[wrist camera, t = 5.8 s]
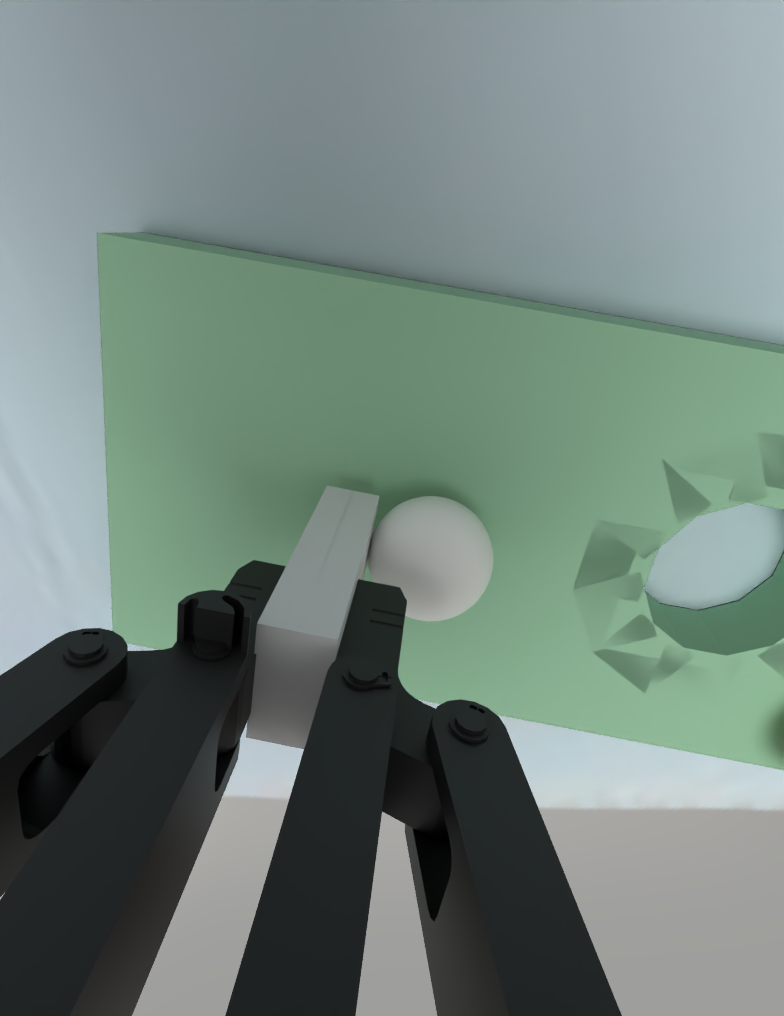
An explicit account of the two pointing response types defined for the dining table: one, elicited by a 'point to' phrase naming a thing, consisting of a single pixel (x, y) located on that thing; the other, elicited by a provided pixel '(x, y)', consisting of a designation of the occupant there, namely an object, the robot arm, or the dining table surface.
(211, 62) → the dining table surface
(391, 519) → the ball
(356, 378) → the green
